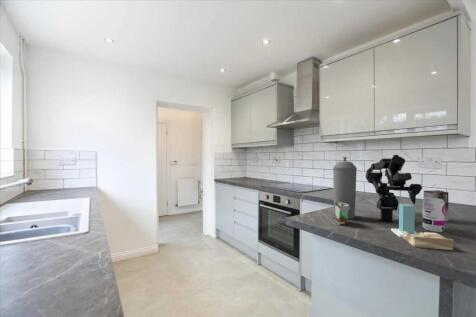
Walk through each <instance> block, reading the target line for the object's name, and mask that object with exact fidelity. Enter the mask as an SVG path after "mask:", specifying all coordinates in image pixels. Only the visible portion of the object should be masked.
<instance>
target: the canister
mask: <svg viewBox="0 0 476 317" xmlns="http://www.w3.org/2000/svg"><path fill="white" fill-rule="evenodd" d="M342 159H343V161H342V160H341V161H337V163H336V164H334V166H332V170H333V171H332V173H333V175H332V176H333V177H332V179H333V180H332V181H333V215H334V217H335V202H342V203H346V204H348V205H349V207H350V210H348V220H353V219H355V217H356V216H355V214H356V197H357V196H356V194H357V192H356V191H357V170H358V168H357V166H356V165H354V163H353V162H351V161H347V159H348V157H347V156H343V157H342Z"/></svg>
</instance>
